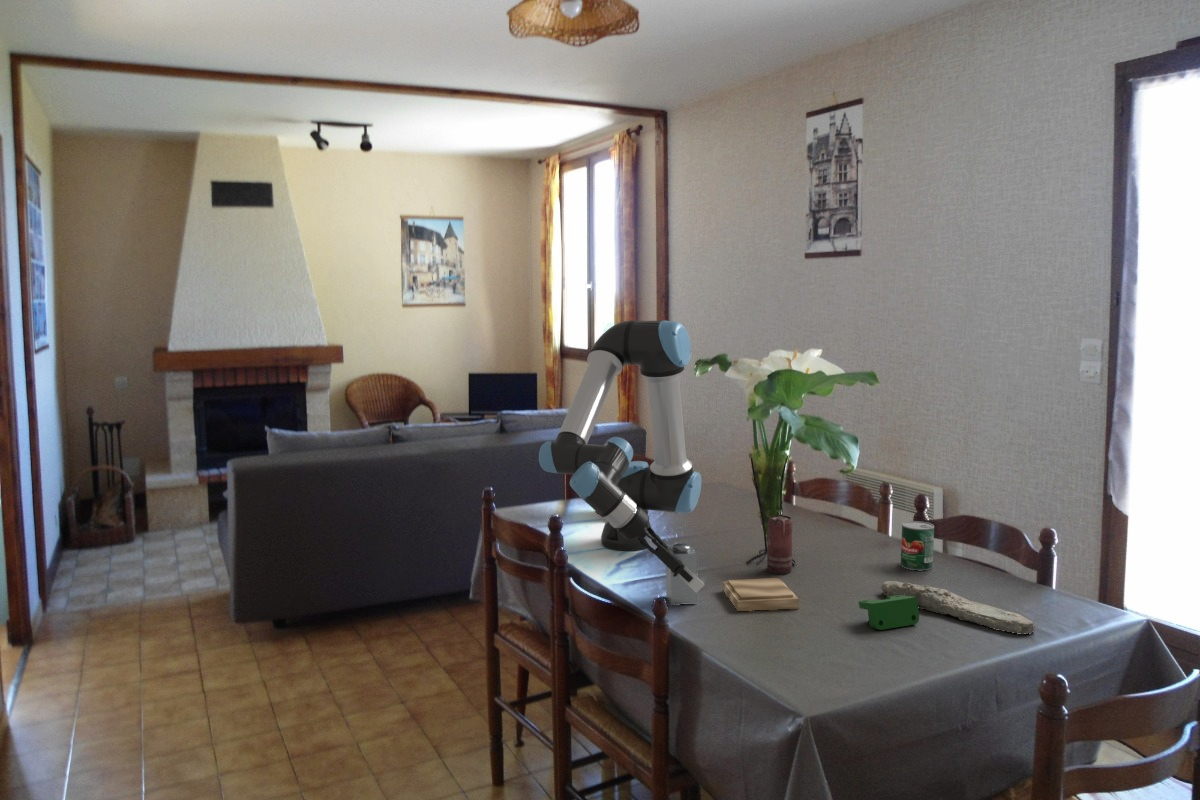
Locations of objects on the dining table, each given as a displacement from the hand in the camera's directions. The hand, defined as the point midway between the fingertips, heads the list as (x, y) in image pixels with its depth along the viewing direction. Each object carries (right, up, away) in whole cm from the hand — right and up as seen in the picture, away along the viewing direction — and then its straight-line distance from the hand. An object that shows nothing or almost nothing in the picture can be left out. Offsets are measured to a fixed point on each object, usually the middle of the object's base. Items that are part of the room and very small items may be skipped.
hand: (696, 583), depth 208 cm
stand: (+15, -4, 0) cm, 15 cm away
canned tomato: (+59, -1, +24) cm, 64 cm away
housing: (-4, -4, 0) cm, 5 cm away
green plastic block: (+39, -6, -15) cm, 43 cm away
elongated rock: (+56, -5, -9) cm, 57 cm away
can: (+23, -1, +21) cm, 31 cm away
